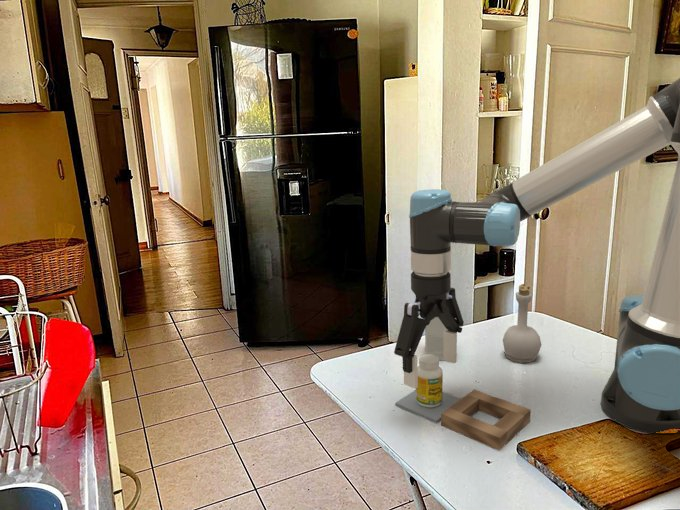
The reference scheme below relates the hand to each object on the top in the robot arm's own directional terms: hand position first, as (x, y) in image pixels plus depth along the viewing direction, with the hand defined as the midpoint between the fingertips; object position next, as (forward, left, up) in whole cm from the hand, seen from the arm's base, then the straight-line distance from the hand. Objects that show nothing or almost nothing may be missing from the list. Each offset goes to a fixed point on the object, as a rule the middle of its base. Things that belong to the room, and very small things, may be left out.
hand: (431, 373), depth 105 cm
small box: (+12, -21, -7) cm, 25 cm away
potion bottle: (-4, -32, -7) cm, 33 cm away
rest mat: (0, 0, -7) cm, 7 cm away
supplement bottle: (0, 0, -7) cm, 7 cm away
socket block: (-12, -1, -7) cm, 14 cm away
